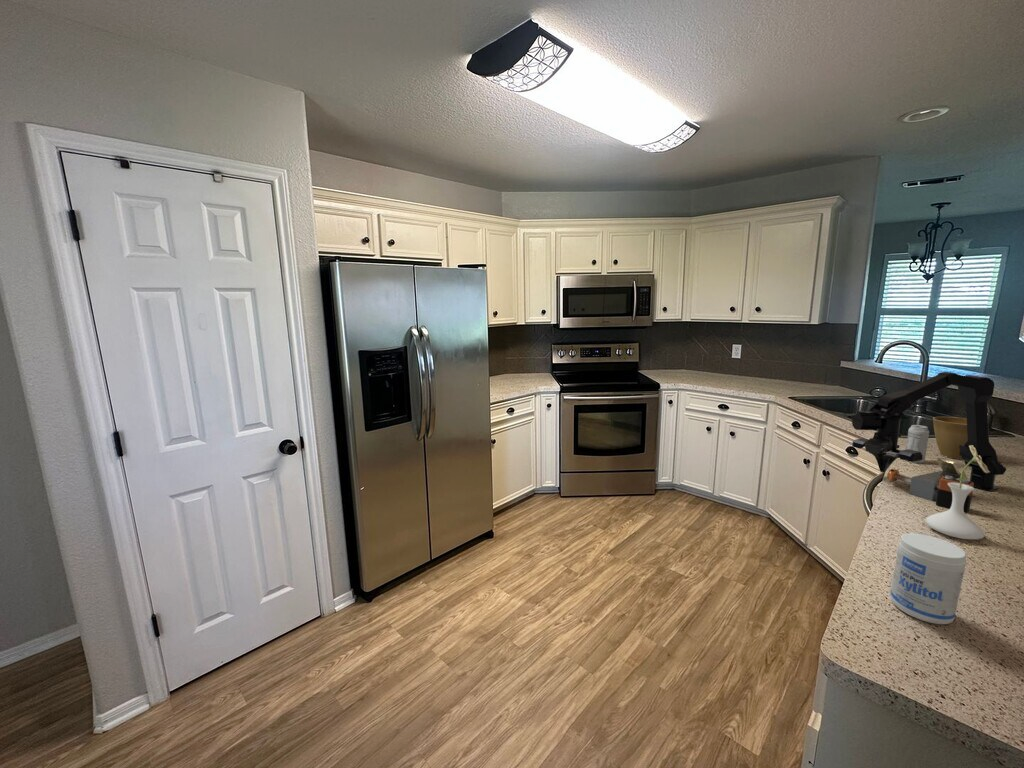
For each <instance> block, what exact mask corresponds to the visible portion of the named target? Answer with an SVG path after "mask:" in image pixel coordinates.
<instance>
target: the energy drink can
mask: <svg viewBox="0 0 1024 768" xmlns="http://www.w3.org/2000/svg"><path fill="white" fill-rule="evenodd" d="M928 428H929V427H928V426H926V425H919V424H911V426H910V427H909V428H908V431H907V439H906V445H905V450H907V449H910V450H914V451H918V452H921V454H922V455H923V457H922V460H920V461H915V462H911V463H914V464H923V463H924V462H925V461H926V455H927V449H928V442H929V435H930V430H929V429H928ZM907 462H908V463H910V462H909V461H907Z"/></svg>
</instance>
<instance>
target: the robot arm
mask: <svg viewBox="0 0 1024 768" xmlns="http://www.w3.org/2000/svg"><path fill="white" fill-rule="evenodd" d="M949 386H956V387H957V388H958V389H957V391H958V393H959V394H960V396H961V397H962V399H963V400H964V401H965V411H966V417H965V418H966V419H967V435H968V441H967V442H966V443H965V444H964V445H959V448H960V454H959V455H960V456H961V457H962V459H961V460H963V461H964V466H966V465H967V464H968V463H969V462H970V461H971V460H972V458H973V457H974V456H973V454H972V453H971V451H970V448H969V445H970V446H972V445H973V446H974V447H975V449H976V451H977V454H978V455H980V456H981V458H982V462H983V463H984V464H985V465H986V466H987V469H988V470H989V472H990V473H989V472H988V473H985V472H984V471H983V469H982V468H981V467H980V465H979V464H978V462H974V461H972V462H971V463H970V464H969V465H968V466H967V467H970V475H969V480H970V482H973V483H974V486H973V488H974V489H975V488H976V489H979V490H983V491H988V492H990V491H994V490H998V489H1000V488H999V486H995V482H996V481H995V480H996V476H1001V475H1002V476H1003V475H1004V474H1005V472H1006V471H1007V468H1006V467H1005V466H1004V464H1002V463H1001V462H999V459H998V455H997V452H996V449H995V448H994V447H993V445H992V444H991V443H990V435H989V415H988V414H989V413H988V412H989V410H988V401H990V399H991V398H992V397H993V395H994V392H995V391H994V390H995V381H994V380H993V379H991V378H989V377H986V376H979V375H972V374H966V375H961V374H958V373H955V372H949V371H941V372H939V373H938V374H936V375H934V376H932V377H930V378H928V379H926V380H924V381H921V382H919V383H917V384H915V385H913V386H911V387H909V388H906V389H904V390H901V391H895V392H894V391H893V392H890V393H887V394H886V393H885V394H883V395H882V396H880V397H879V398H878V400H877V402H875V403H874V404H873V405H872V406H871V407H870V408H869V409H868V411H864V410H863V411H862V410H857V411H856V414H854V416H853V418H852V419H851V424H852V428H854V429H855V430H856V431H875V432H874V434H873V437H871V438H869V439H868V438H856V439H854V440H853V441H852V444H851V446H852V447H853V448H857V449H863V448H864V449H865V451H866V452H868V453H869V454H871V455H872V456H874V457H875V460H876V462H877V465H878V468H879V471H880V473H886V471H887V470H888V469H889V468H890V466H891V465H892V464H893V463H894V461H896V460H897V459H900V460H902V461H905V462H908V461H909V462H908V463H912V462H915V461H920V460H922V457H923V455H922V454H921V452H918V451H914V450H910V449H907V450H906V449H902V450H901V449H899V448H900V444H898V440H899V438H901V436H902V434H901V433H900V429H901V428H900V426H901V420H909V417H908V416H907V415H906V414H905V413H904V412H905V411H907V410H908V409H911V407H912V406H913V405H914V403H915V402H917V401H919V400H922V399H923V398H926V397H928V396H930V395H933V394H935V393H936V392H939V391H941V390H943V389H945V388H948V387H949Z"/></svg>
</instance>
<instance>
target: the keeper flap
mask: <svg viewBox="0 0 1024 768" xmlns="http://www.w3.org/2000/svg"><path fill="white" fill-rule="evenodd" d="M936 460H937V462H938V464H939V466H940V467H941V471H943V472H947V473H950V474H954V475H958V476H961V472H960V470H959V469H958V466H957V465H956V462H955V461H953V460H947V459H943V458H940V457H938V459H936Z"/></svg>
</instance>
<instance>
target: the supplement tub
mask: <svg viewBox="0 0 1024 768" xmlns="http://www.w3.org/2000/svg"><path fill="white" fill-rule="evenodd" d="M895 557H896V558H895V564H894V568H893V569H894V570H893V574H892V575H893V576H892V579H891V580H892V581H891V586H890V592H889V597H890V600H891V602H892V603H893V605H894V606H895V607H896V608H897V609H899V610H900V611H902V612H904V613H905V614H907V615H909V616H910V617H913V618H915V619H917V620H919V621H923V622H925V623H931V624H935V625H948V624H951V623H953V622H954V620H955V617H956V612H957V608H958V603H959V598H960V597H959V596H960V594H961V589H962V583H963V578H964V573H965V569H966V564H967V563H966V562H967V559H966V558H967V553H966V552H965V551H964V550H963V549H962V548H961V547H959V546H958V545H955V544H954V543H951V542H949V541H948V540H947V541H946V540H945V539H941V538H938V537H935V536H931V535H926V534H922V533H911V532H910V533H909V532H908V533H904V534H902V535H901V536H900V540H899V543H898V547H897V552H896V556H895Z"/></svg>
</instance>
